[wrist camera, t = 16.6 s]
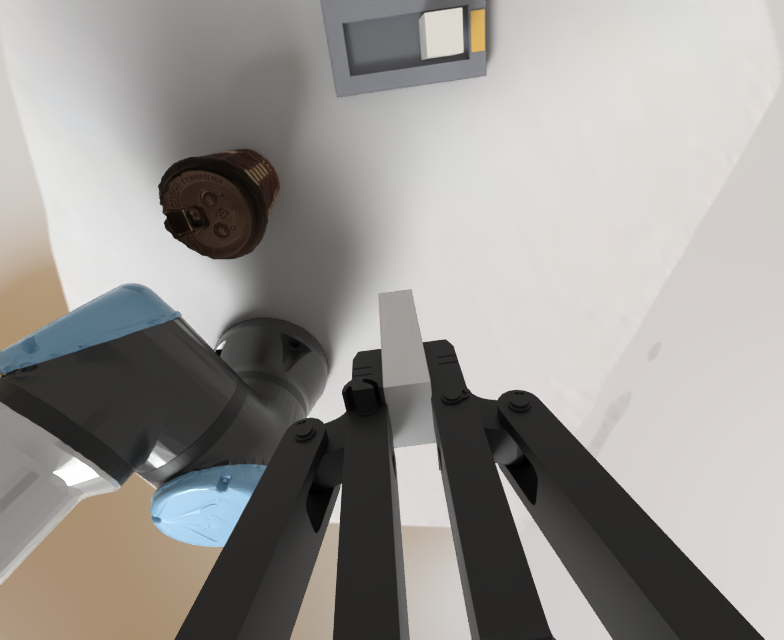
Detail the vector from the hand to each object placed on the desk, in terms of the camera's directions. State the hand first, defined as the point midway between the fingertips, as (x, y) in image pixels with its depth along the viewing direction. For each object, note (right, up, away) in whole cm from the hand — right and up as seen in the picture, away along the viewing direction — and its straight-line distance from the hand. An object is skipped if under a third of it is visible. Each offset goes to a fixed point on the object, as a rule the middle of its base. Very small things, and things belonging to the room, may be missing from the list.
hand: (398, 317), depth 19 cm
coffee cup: (-16, +15, +25) cm, 33 cm away
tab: (+4, +25, +18) cm, 31 cm away
